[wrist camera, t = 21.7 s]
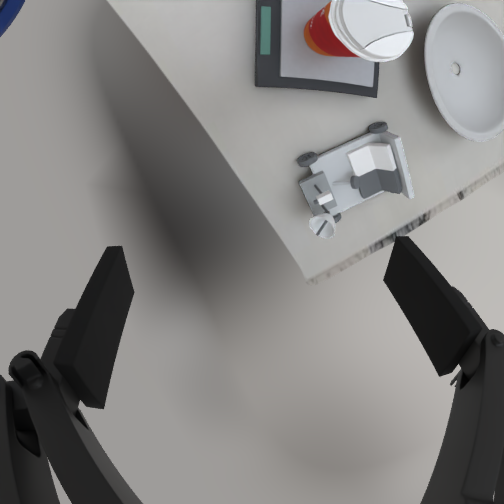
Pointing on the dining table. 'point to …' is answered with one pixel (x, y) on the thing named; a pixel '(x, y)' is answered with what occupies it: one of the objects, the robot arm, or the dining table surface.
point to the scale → (304, 53)
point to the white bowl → (466, 70)
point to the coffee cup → (361, 29)
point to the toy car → (353, 176)
